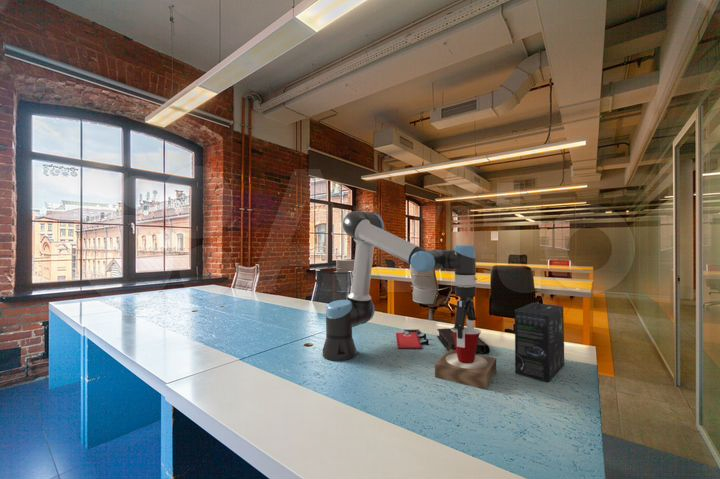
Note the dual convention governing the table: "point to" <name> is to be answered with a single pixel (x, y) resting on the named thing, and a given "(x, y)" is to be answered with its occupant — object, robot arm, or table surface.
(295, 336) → the table surface
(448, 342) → the diary
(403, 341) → the red board with handle
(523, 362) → the headset box
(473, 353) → the plastic cup
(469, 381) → the walnut pedestal
